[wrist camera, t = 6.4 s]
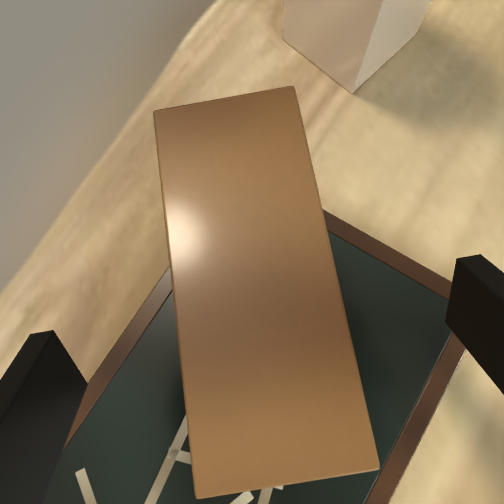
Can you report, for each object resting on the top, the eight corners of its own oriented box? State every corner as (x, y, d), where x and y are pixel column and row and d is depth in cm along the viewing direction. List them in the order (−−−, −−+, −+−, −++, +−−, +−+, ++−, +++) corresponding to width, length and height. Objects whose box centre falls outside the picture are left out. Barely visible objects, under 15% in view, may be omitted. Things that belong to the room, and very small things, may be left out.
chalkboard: (242, 169, 22) (240, 162, 21) (479, 304, 19) (490, 303, 18) (-30, 564, 18) (-48, 578, 17) (224, 806, 15) (221, 840, 14)
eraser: (204, 225, 20) (129, 107, 10) (291, 210, 20) (314, 73, 9) (229, 406, 18) (167, 517, 7) (328, 389, 18) (413, 477, 7)
